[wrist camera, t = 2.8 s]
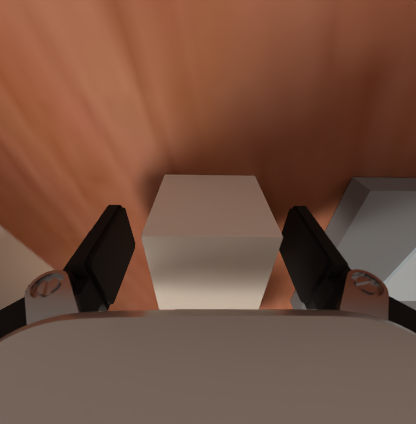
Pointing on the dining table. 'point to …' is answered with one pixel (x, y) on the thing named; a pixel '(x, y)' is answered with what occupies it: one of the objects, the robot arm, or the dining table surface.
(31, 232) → the dining table surface
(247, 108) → the dining table surface
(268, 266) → the off-white block
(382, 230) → the grey tray
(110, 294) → the robot arm
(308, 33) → the dining table surface
